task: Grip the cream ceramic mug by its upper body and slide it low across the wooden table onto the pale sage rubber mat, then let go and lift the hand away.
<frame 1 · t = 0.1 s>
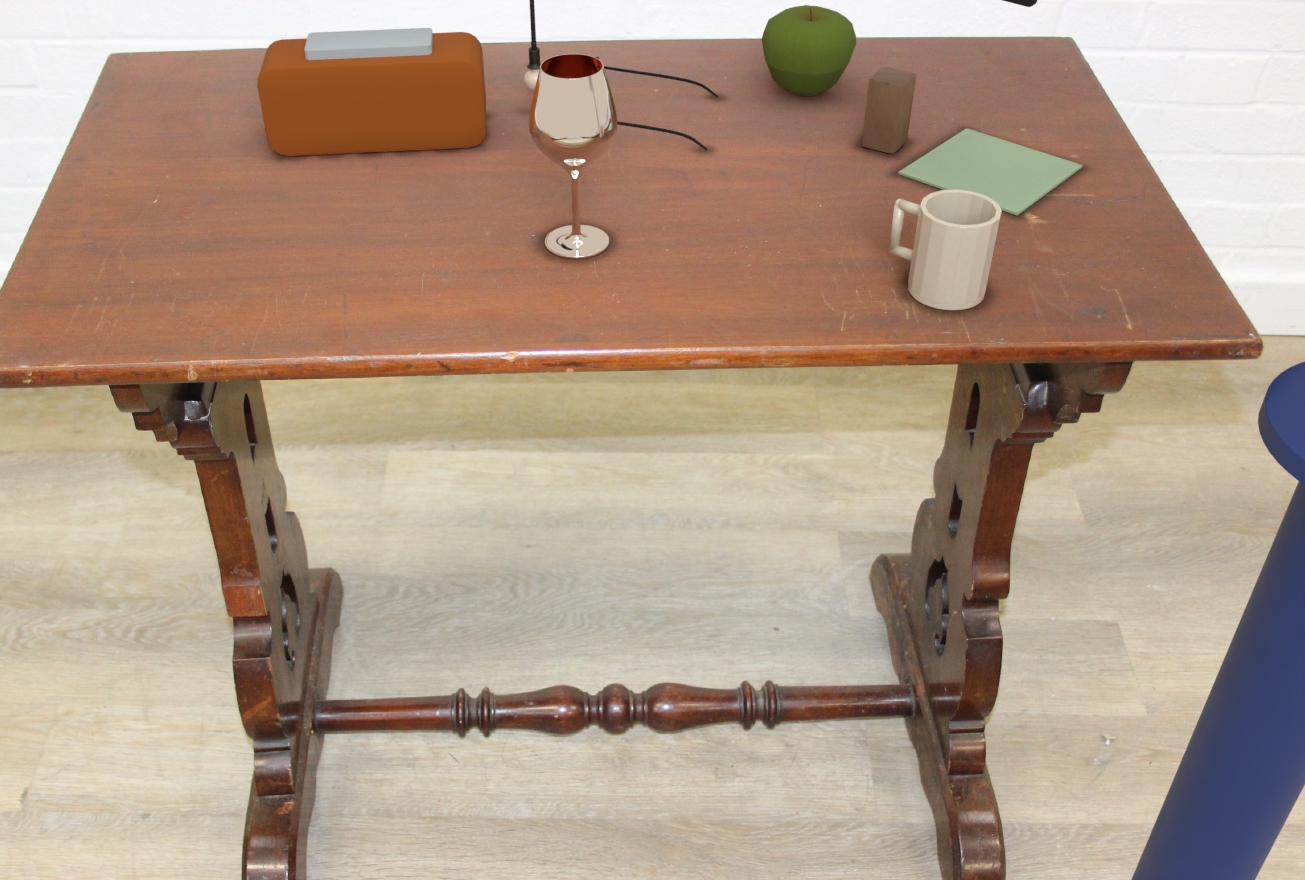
light fixture: (536, 109, 156), on the table
glasses: (648, 121, 153), on the table
mug: (946, 290, 124), on the table
alarm clock: (381, 138, 151), on the table
apple: (803, 92, 158), on the table
wooden block: (883, 146, 147), on the table
wineglass: (576, 244, 132), on the table
mat: (990, 170, 142), on the table
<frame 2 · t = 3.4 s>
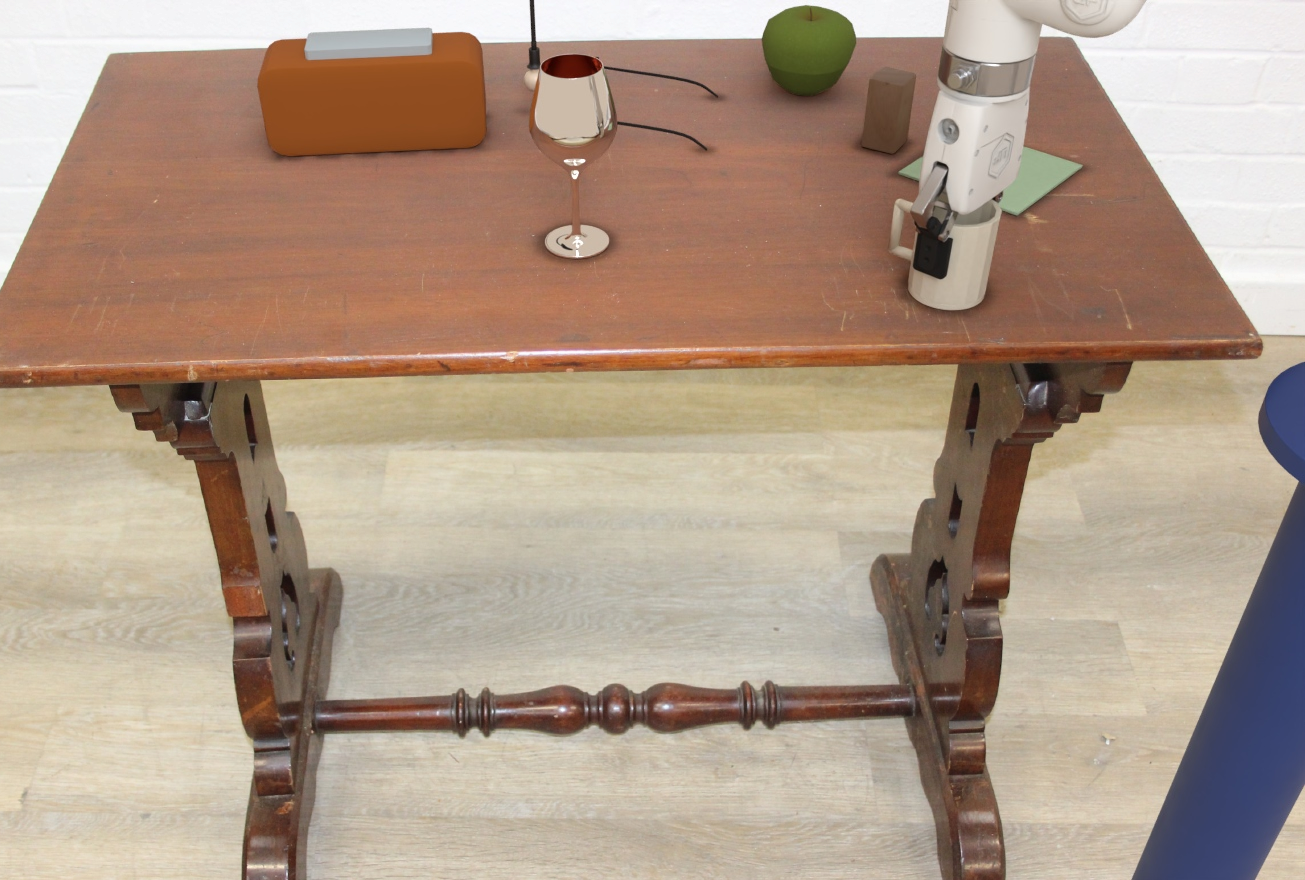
hand: (952, 255, 121), 4 cm above the table, tool pointing down, fingers closed on mug, 7 cm apart
mug: (946, 290, 124), on the table, touching gripper
everything else where it was.
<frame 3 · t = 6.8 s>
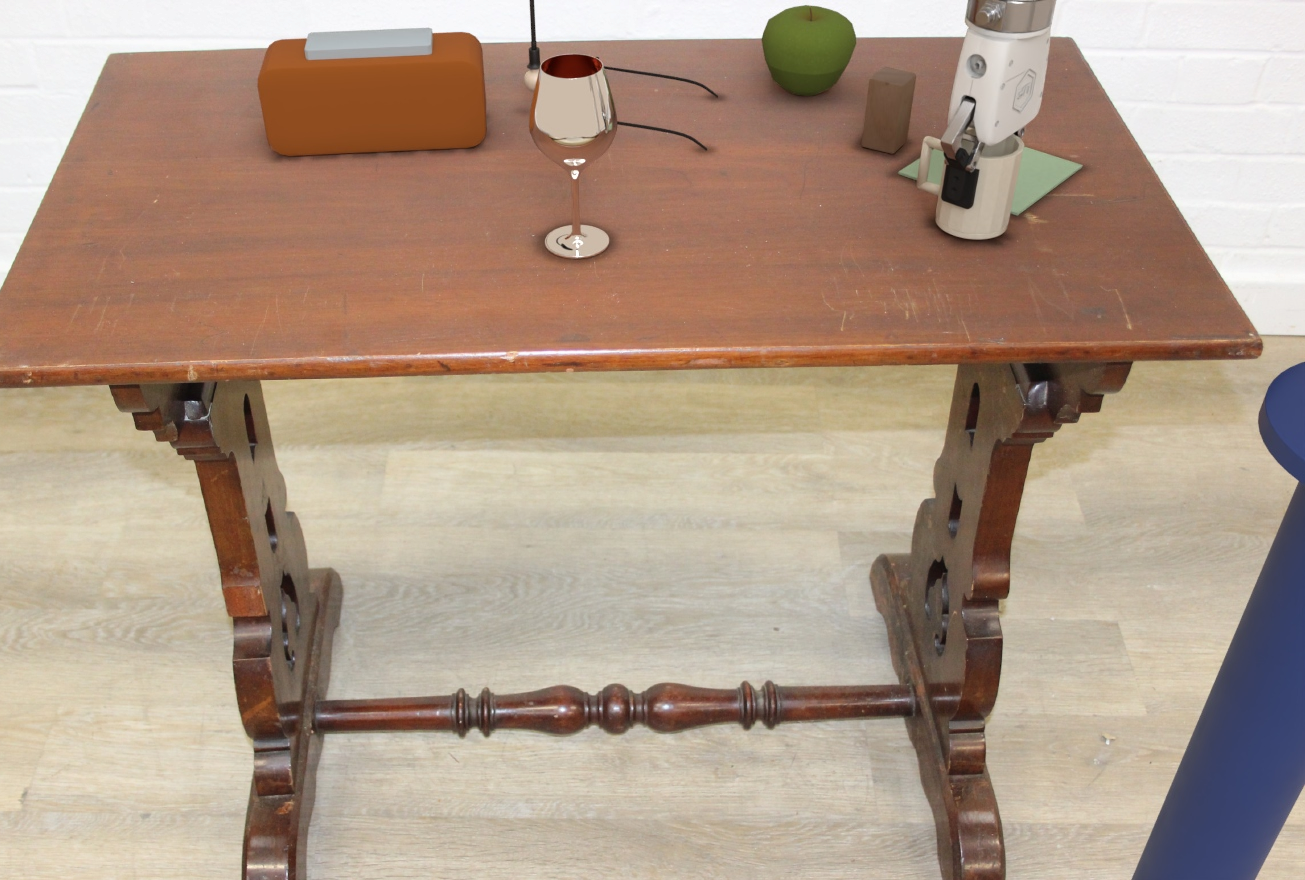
hand: (977, 188, 130), 4 cm above the table, tool pointing down, fingers closed on mug, 7 cm apart
mug: (971, 222, 132), point 1 cm above the table, touching gripper
everything else where it was.
when the fingers open (4 cm above the table, at t = 10.1 s): mug stays where it is, resting on mat.
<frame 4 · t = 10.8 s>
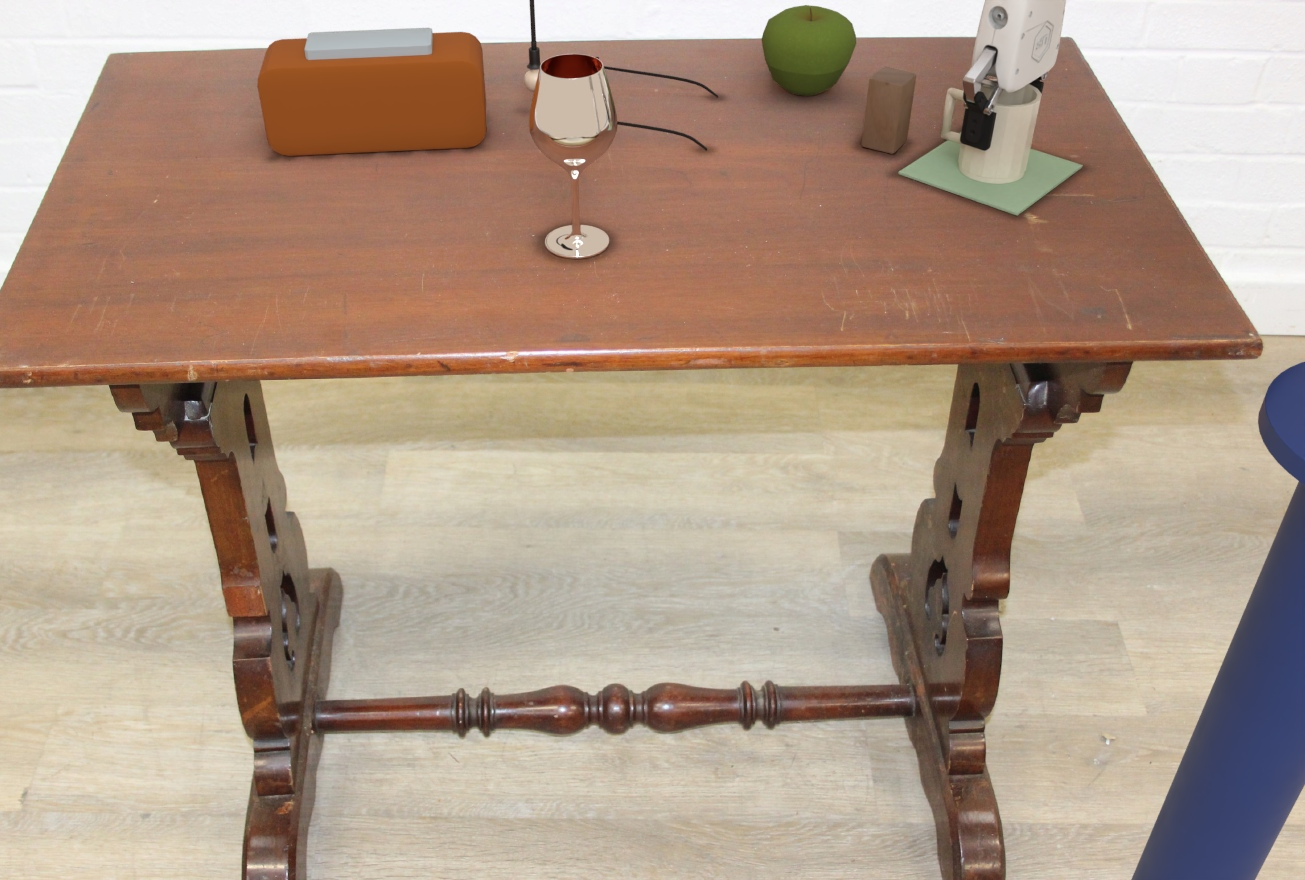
hand: (998, 130, 139), 5 cm above the table, tool pointing down, fingers open, 9 cm apart
mug: (991, 168, 141), resting on mat
everything else where it was.
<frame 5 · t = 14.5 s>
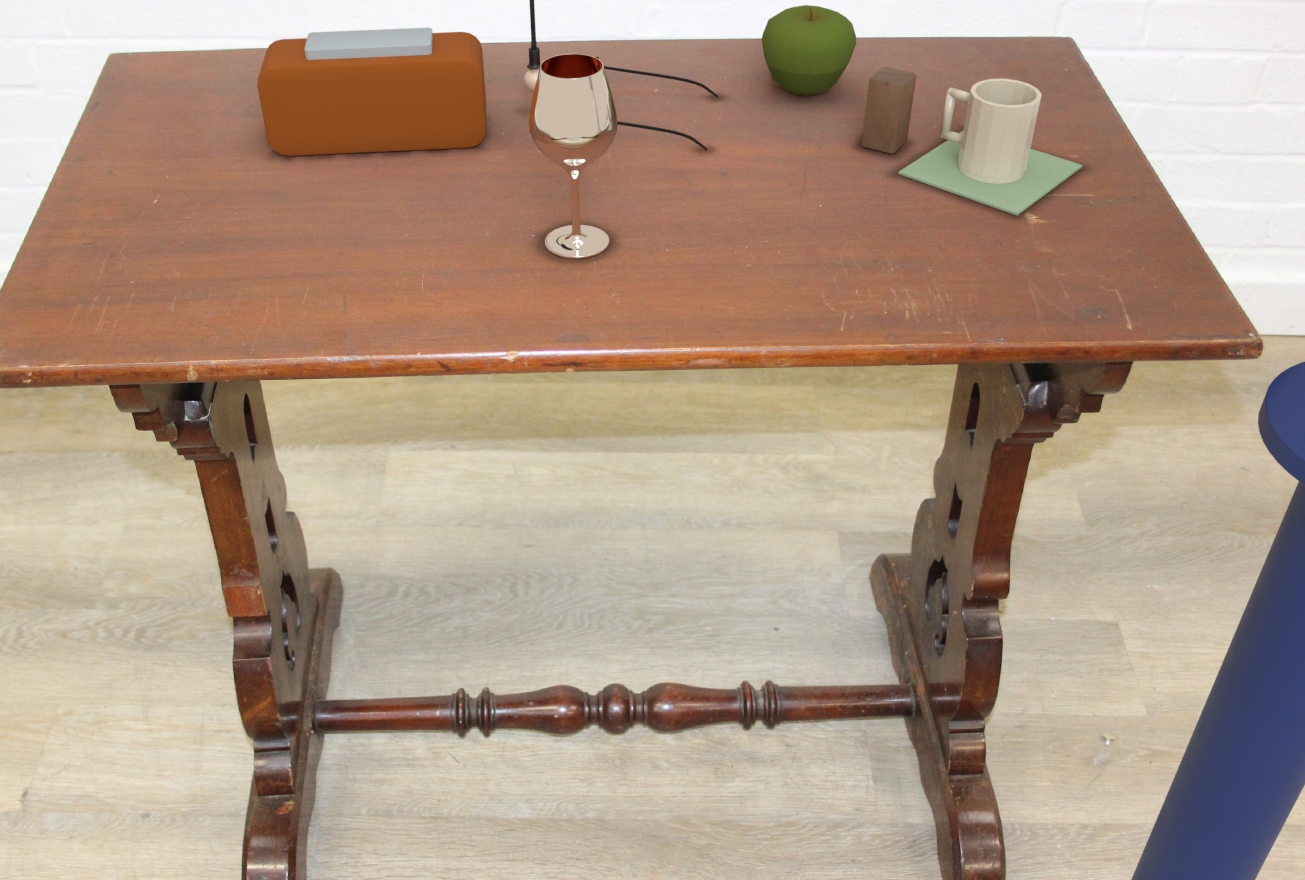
nothing on the table moved.
at the end: mug inside the target area on the mat (0.1 cm from its centre), point 0.3 cm above the mat's base; mug tilted 0°; the gripper is holding nothing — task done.
